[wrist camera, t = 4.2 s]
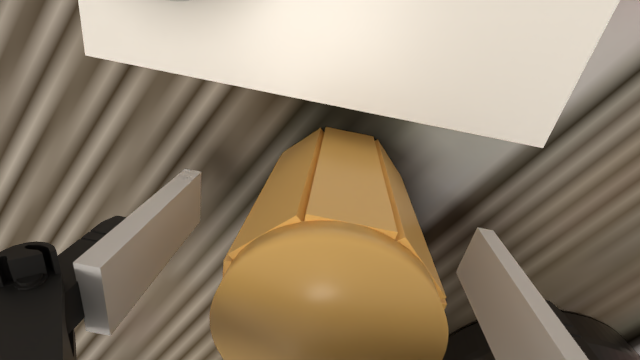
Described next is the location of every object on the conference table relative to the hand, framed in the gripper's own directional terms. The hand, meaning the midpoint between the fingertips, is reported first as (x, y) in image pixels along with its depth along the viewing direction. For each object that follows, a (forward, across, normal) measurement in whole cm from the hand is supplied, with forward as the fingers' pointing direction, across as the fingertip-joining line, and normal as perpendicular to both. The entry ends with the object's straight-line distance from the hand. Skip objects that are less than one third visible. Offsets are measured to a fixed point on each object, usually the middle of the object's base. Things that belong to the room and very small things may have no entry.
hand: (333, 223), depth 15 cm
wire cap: (+4, 0, 0) cm, 4 cm away
